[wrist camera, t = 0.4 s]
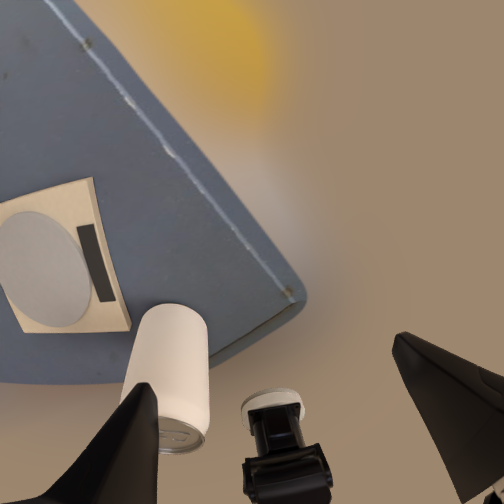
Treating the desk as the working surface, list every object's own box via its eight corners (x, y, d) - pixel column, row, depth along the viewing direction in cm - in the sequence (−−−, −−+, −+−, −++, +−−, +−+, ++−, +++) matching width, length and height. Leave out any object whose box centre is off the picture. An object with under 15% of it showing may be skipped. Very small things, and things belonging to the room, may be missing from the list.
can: (144, 293, 24) (111, 403, 13) (214, 308, 25) (220, 422, 15) (139, 345, 26) (117, 447, 15) (200, 357, 28) (202, 461, 17)
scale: (132, 323, 25) (128, 335, 23) (28, 326, 24) (22, 336, 22) (92, 176, 19) (83, 180, 18) (-16, 208, 18) (-26, 214, 16)
